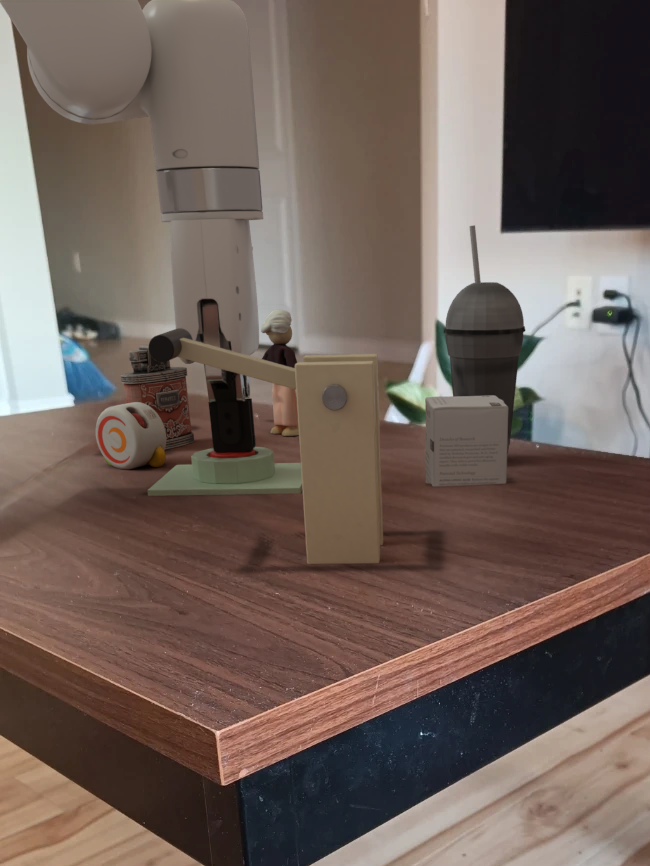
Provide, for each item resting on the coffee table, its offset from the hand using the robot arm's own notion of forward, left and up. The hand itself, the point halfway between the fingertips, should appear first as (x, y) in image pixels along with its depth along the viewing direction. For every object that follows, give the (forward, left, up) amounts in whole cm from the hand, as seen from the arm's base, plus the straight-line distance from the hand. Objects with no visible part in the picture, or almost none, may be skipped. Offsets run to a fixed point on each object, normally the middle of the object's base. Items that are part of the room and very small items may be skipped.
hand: (235, 450), depth 84 cm
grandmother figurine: (0, +31, -4) cm, 31 cm away
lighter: (-12, +24, -4) cm, 27 cm away
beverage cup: (+21, +13, -4) cm, 25 cm away
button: (0, 0, -2) cm, 2 cm away
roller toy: (-12, +13, -4) cm, 18 cm away
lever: (+6, -22, +7) cm, 24 cm away
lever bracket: (+11, -22, -4) cm, 25 cm away
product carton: (+19, 0, -4) cm, 19 cm away
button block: (0, 0, -4) cm, 4 cm away
